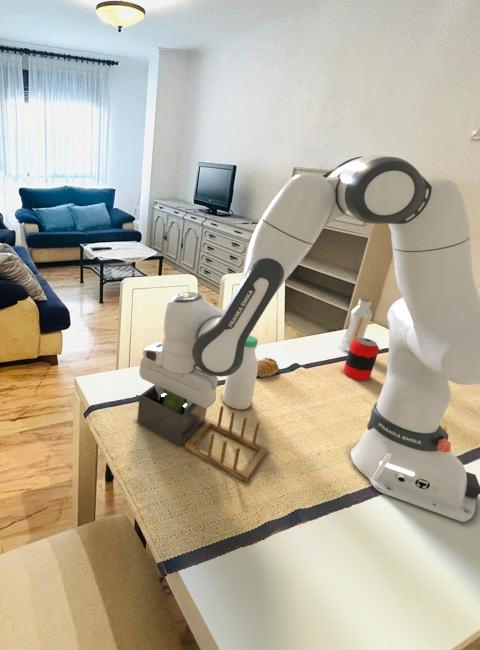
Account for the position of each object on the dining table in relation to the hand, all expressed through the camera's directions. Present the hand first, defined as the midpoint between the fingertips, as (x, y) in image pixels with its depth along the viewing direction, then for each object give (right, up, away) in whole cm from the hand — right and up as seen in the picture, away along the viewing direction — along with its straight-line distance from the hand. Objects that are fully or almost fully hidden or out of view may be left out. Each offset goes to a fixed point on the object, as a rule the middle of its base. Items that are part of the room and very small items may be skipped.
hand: (173, 405), depth 97 cm
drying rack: (+11, -9, -7) cm, 16 cm away
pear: (0, -4, +1) cm, 4 cm away
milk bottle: (+19, -2, +11) cm, 23 cm away
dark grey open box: (0, -4, +2) cm, 5 cm away
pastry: (+33, +4, +27) cm, 43 cm away
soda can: (+64, +2, +29) cm, 70 cm away
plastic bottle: (+71, +8, +45) cm, 85 cm away
